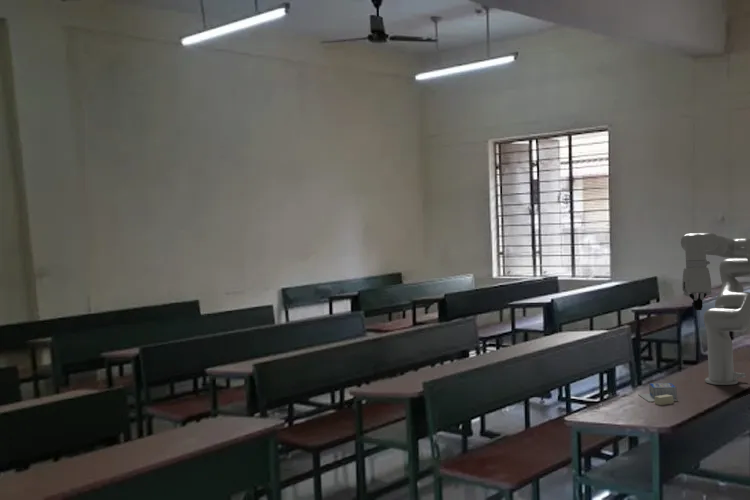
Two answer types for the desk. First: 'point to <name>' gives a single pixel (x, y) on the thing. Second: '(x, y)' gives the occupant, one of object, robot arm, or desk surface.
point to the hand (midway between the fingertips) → (698, 309)
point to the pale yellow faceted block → (663, 399)
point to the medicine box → (662, 389)
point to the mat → (650, 397)
